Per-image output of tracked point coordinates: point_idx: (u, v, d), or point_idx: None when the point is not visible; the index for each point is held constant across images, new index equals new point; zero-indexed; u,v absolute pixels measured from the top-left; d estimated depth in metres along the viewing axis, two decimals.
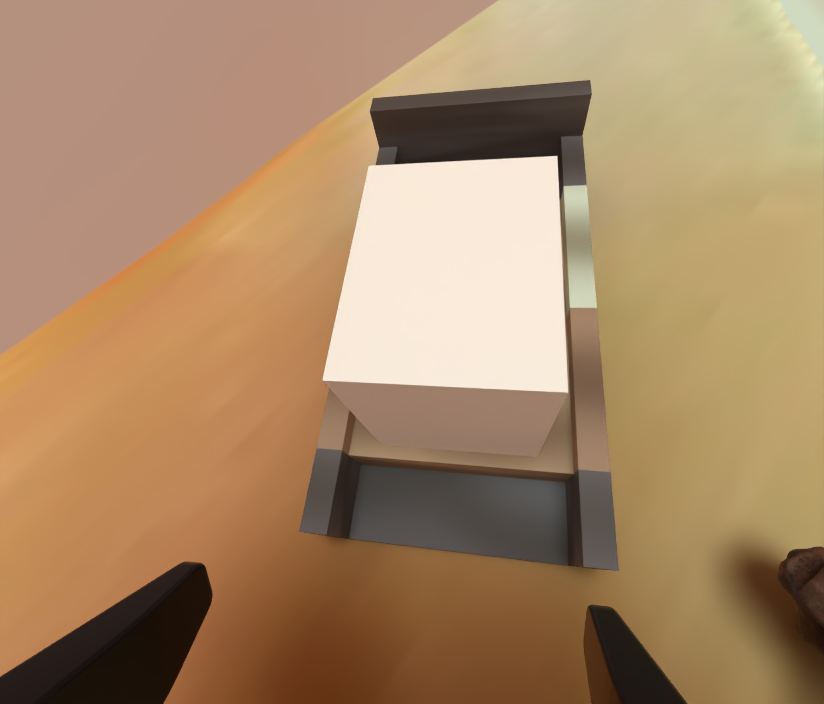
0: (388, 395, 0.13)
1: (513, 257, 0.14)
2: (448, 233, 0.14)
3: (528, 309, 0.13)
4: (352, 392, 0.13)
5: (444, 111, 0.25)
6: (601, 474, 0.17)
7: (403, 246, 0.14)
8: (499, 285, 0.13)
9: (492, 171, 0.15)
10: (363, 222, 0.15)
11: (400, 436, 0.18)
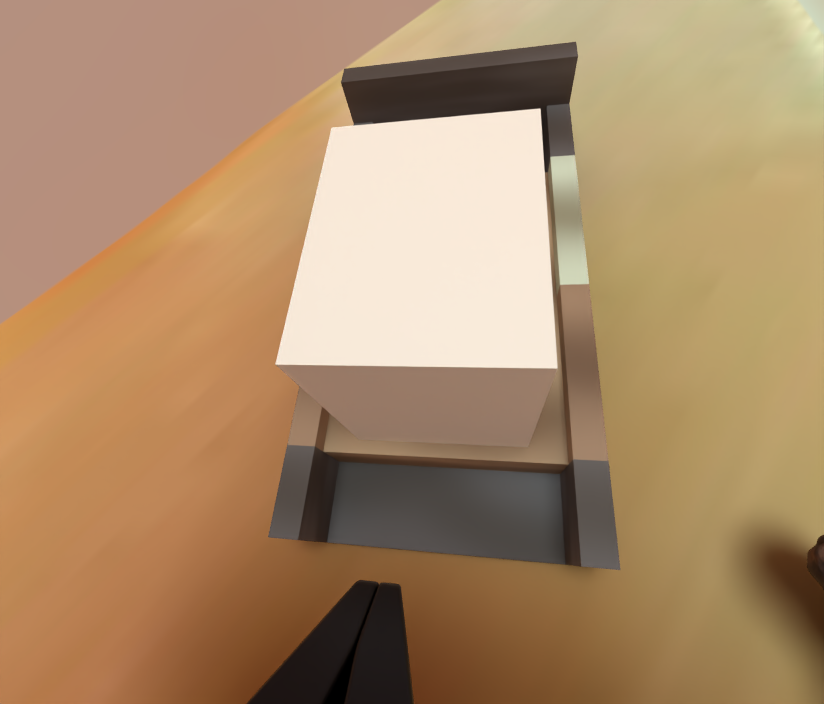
0: (354, 380, 0.12)
1: (493, 219, 0.12)
2: (419, 196, 0.13)
3: (511, 276, 0.11)
4: (313, 378, 0.12)
5: (421, 80, 0.23)
6: (598, 463, 0.15)
7: (369, 212, 0.13)
8: (477, 250, 0.12)
9: (468, 128, 0.14)
10: (324, 188, 0.14)
11: (377, 429, 0.16)
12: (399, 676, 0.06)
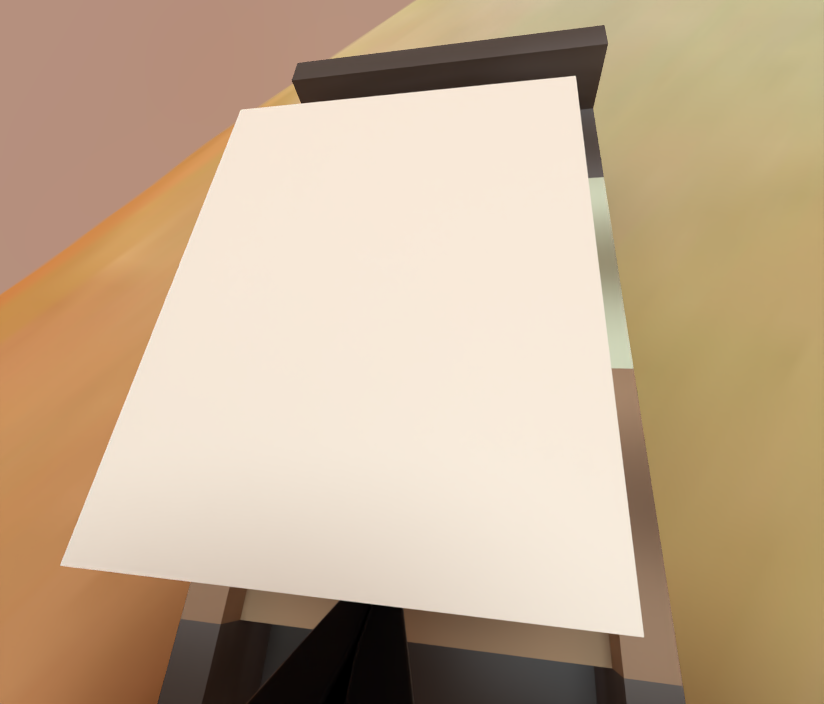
0: None
1: (496, 271, 0.06)
2: (366, 224, 0.07)
3: (532, 392, 0.06)
4: None
5: (396, 77, 0.17)
6: (666, 690, 0.09)
7: (279, 251, 0.07)
8: (466, 333, 0.06)
9: (456, 108, 0.08)
10: (214, 207, 0.08)
11: None
12: (399, 676, 0.06)
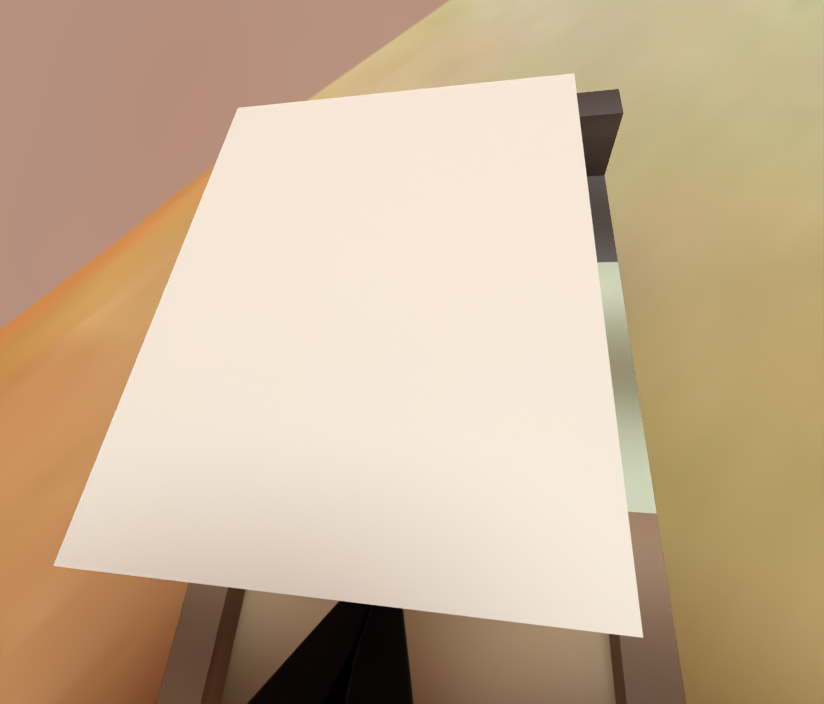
0: None
1: (493, 268, 0.06)
2: (363, 221, 0.07)
3: (529, 390, 0.05)
4: None
5: None
6: None
7: (276, 249, 0.07)
8: (464, 330, 0.06)
9: (454, 106, 0.08)
10: (210, 205, 0.08)
11: None
12: (399, 676, 0.06)
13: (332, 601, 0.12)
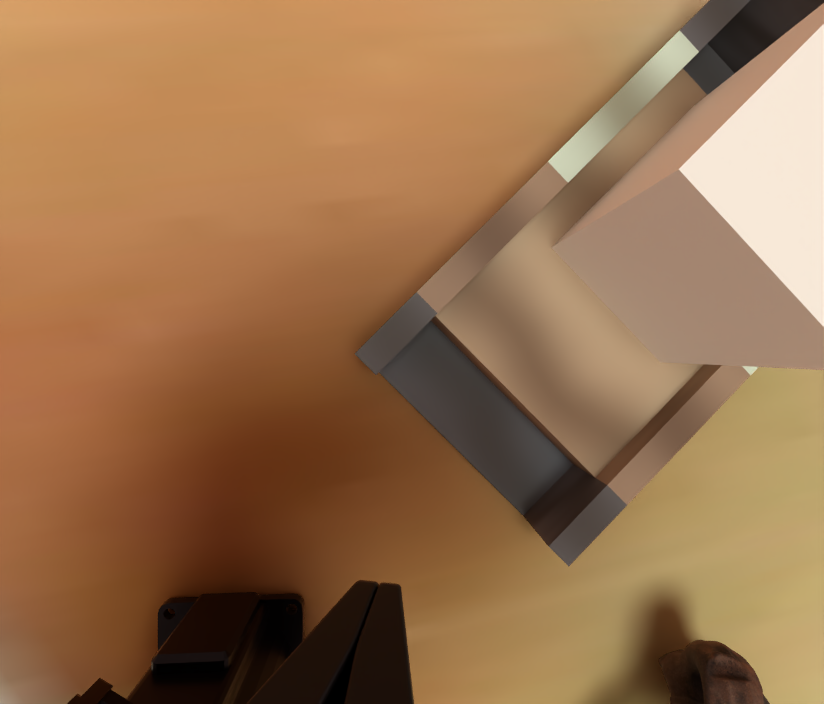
0: (698, 234, 0.11)
1: None
2: None
3: None
4: (671, 202, 0.11)
5: None
6: (619, 501, 0.18)
7: None
8: None
9: None
10: None
11: (591, 259, 0.17)
12: (399, 676, 0.06)
13: (556, 282, 0.18)
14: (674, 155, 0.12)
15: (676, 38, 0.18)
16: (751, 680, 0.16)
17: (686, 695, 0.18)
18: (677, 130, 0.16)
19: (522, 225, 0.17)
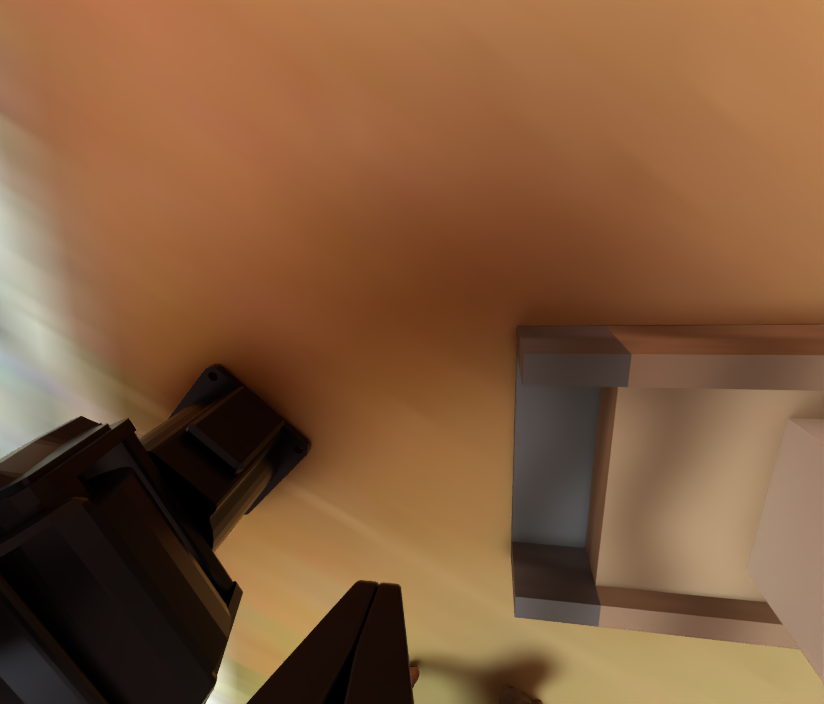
0: None
1: None
2: None
3: None
4: None
5: None
6: (596, 620, 0.18)
7: None
8: None
9: None
10: None
11: (816, 480, 0.14)
12: (399, 676, 0.06)
13: (751, 446, 0.15)
14: None
15: None
16: None
17: None
18: None
19: (795, 387, 0.14)
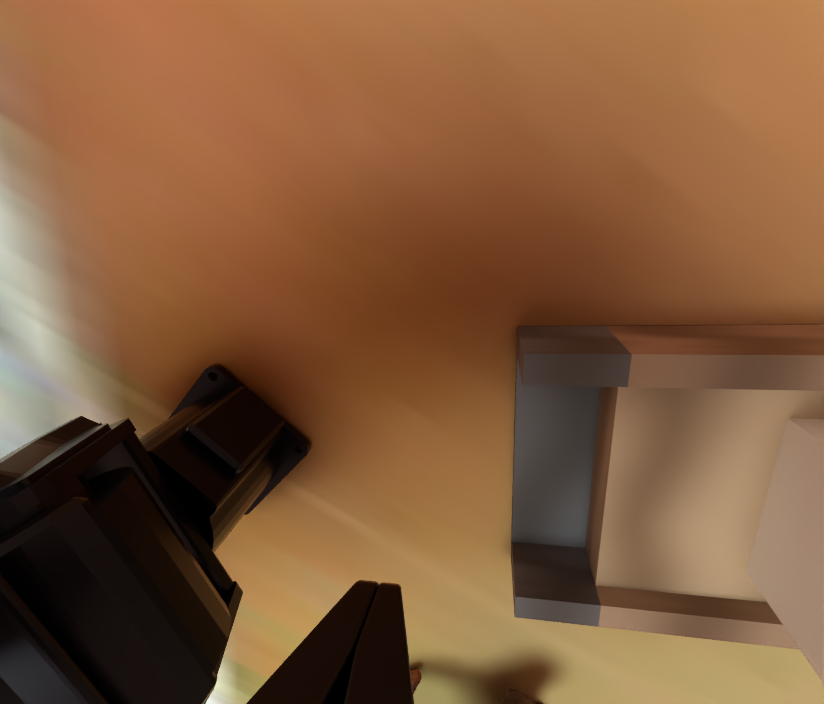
0: None
1: None
2: None
3: None
4: None
5: None
6: (596, 620, 0.18)
7: None
8: None
9: None
10: None
11: (816, 480, 0.14)
12: (399, 676, 0.06)
13: (751, 446, 0.15)
14: None
15: None
16: None
17: None
18: None
19: (795, 387, 0.14)
